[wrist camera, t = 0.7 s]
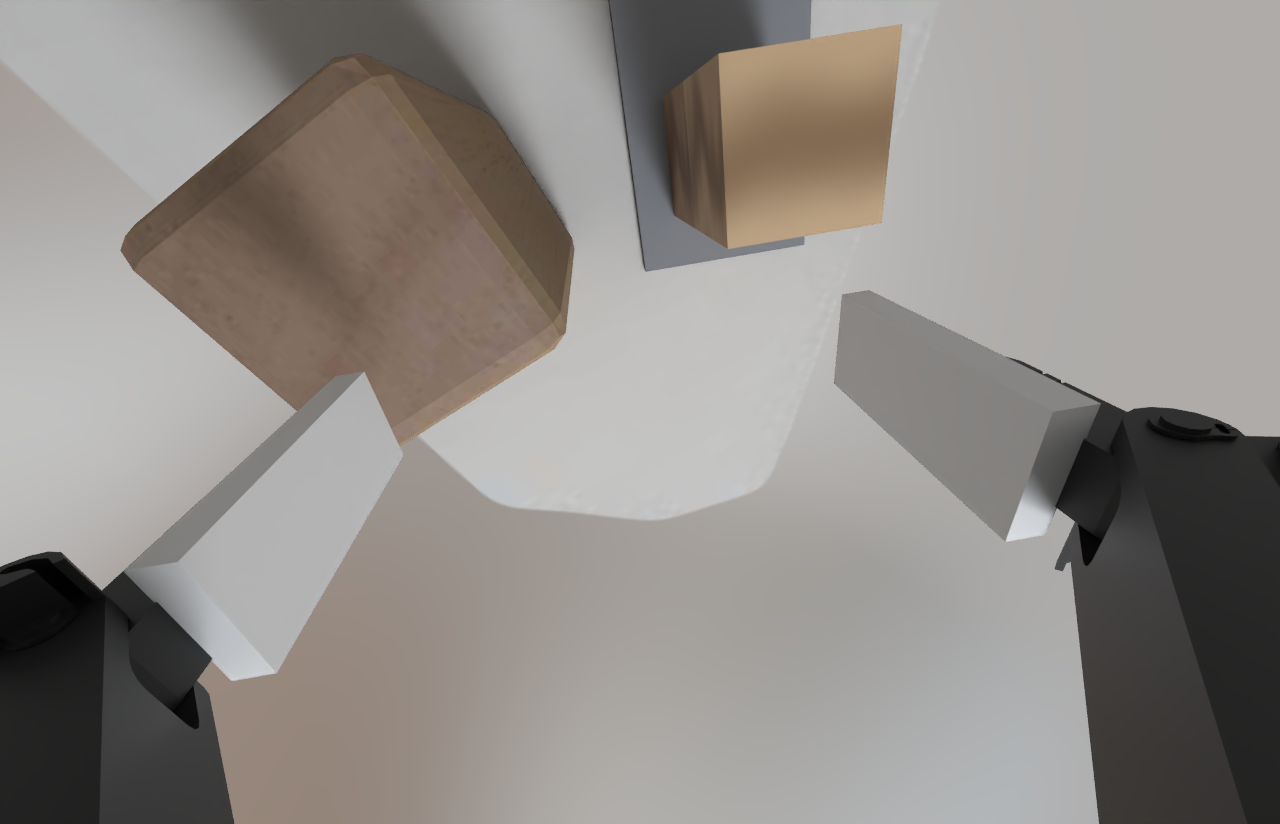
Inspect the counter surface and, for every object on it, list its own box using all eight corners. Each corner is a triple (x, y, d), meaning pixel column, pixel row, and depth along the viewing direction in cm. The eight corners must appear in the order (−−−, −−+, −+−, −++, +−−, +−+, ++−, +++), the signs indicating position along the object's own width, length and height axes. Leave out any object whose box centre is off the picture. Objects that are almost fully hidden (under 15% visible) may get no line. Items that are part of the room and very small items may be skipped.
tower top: (682, 81, 23) (718, 53, 17) (819, 59, 24) (902, 24, 17) (694, 228, 27) (727, 249, 21) (813, 208, 27) (881, 223, 21)
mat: (607, -8, 27) (608, -10, 27) (809, -39, 27) (812, -42, 27) (645, 270, 35) (645, 271, 34) (801, 243, 35) (804, 244, 35)
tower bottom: (662, 97, 29) (682, 81, 23) (770, 79, 30) (819, 59, 23) (674, 215, 33) (694, 228, 27) (771, 199, 33) (813, 208, 27)
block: (367, 197, 31) (82, 247, 13) (488, 105, 29) (345, 25, 12) (470, 321, 35) (359, 480, 18) (580, 248, 34) (576, 344, 16)
